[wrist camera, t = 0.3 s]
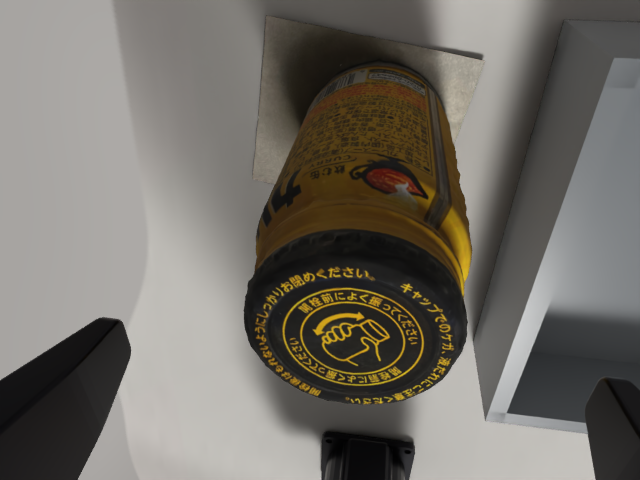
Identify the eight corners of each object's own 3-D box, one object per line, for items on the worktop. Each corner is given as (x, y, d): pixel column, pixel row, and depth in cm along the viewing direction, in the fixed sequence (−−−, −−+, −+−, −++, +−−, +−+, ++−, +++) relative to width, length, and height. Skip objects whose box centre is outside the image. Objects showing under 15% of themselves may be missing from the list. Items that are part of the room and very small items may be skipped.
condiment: (427, 215, 22) (445, 454, 13) (253, 177, 23) (141, 385, 13) (484, 59, 18) (577, 242, 8) (268, 13, 18) (116, 142, 9)
